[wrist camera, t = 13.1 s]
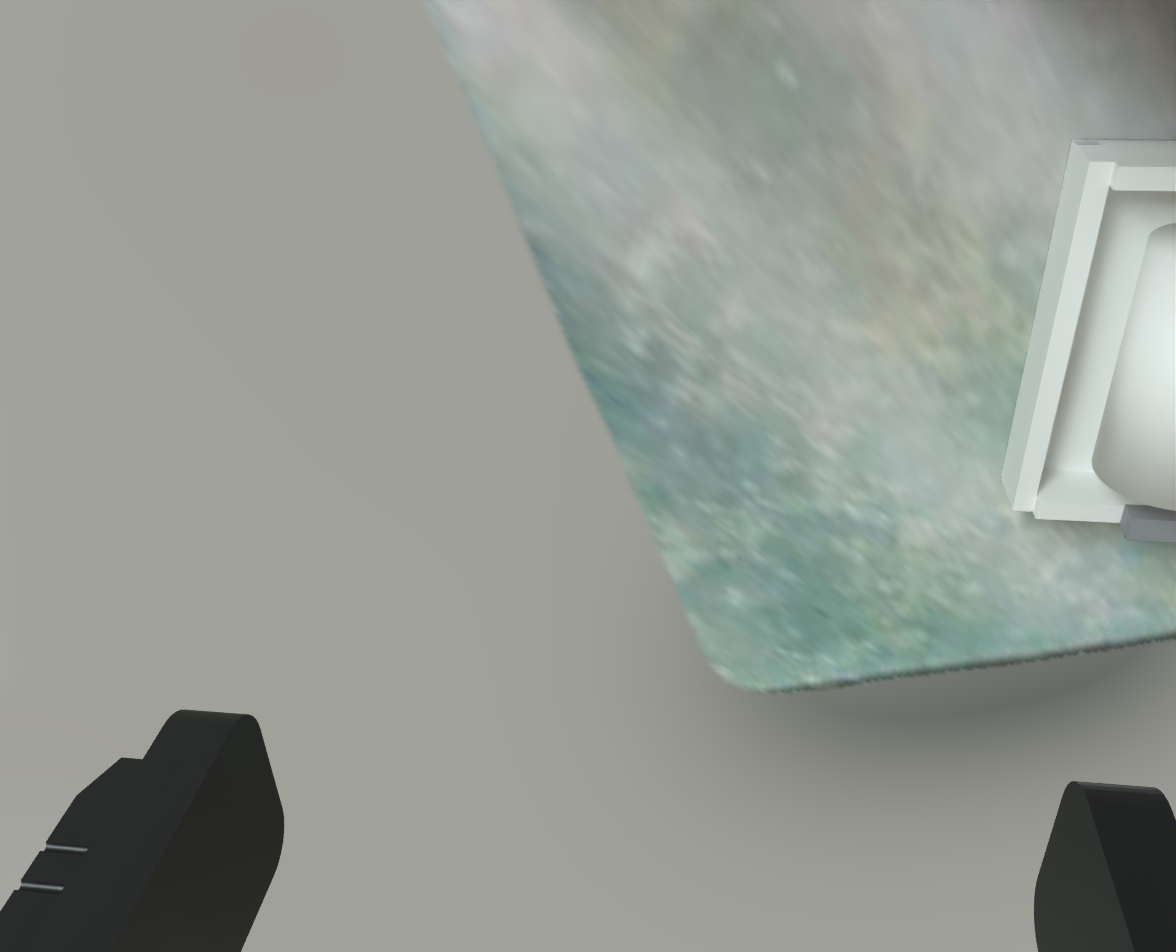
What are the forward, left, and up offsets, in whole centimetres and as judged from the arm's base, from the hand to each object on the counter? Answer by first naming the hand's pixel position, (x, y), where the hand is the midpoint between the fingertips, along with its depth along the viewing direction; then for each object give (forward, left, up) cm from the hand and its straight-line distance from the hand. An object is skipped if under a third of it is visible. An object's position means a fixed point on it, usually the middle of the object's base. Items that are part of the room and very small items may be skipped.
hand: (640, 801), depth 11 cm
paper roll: (+10, +17, -32) cm, 38 cm away
